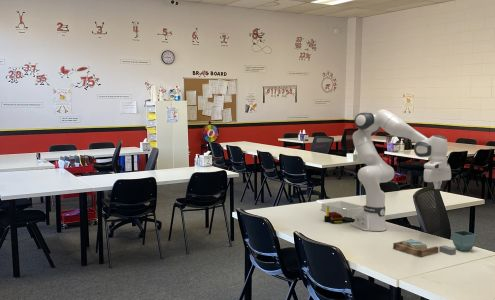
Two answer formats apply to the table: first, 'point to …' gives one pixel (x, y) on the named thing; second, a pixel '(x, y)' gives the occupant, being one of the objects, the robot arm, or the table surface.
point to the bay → (415, 250)
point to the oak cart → (414, 244)
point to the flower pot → (463, 240)
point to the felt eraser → (447, 250)
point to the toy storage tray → (339, 205)
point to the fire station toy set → (336, 217)
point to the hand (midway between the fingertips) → (437, 188)
